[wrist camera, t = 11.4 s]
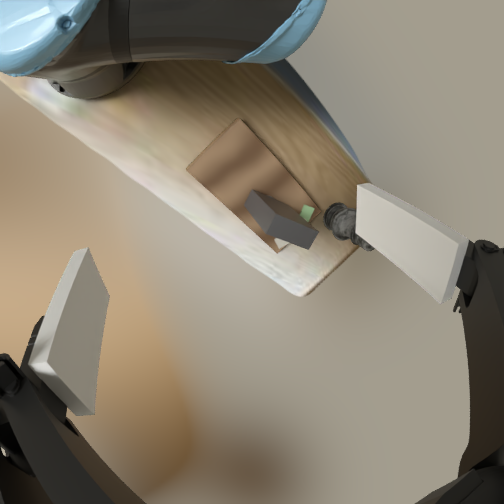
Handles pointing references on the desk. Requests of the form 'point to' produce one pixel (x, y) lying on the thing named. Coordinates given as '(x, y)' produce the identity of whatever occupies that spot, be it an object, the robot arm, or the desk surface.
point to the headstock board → (247, 175)
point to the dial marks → (304, 213)
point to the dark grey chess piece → (344, 224)
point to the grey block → (280, 220)
